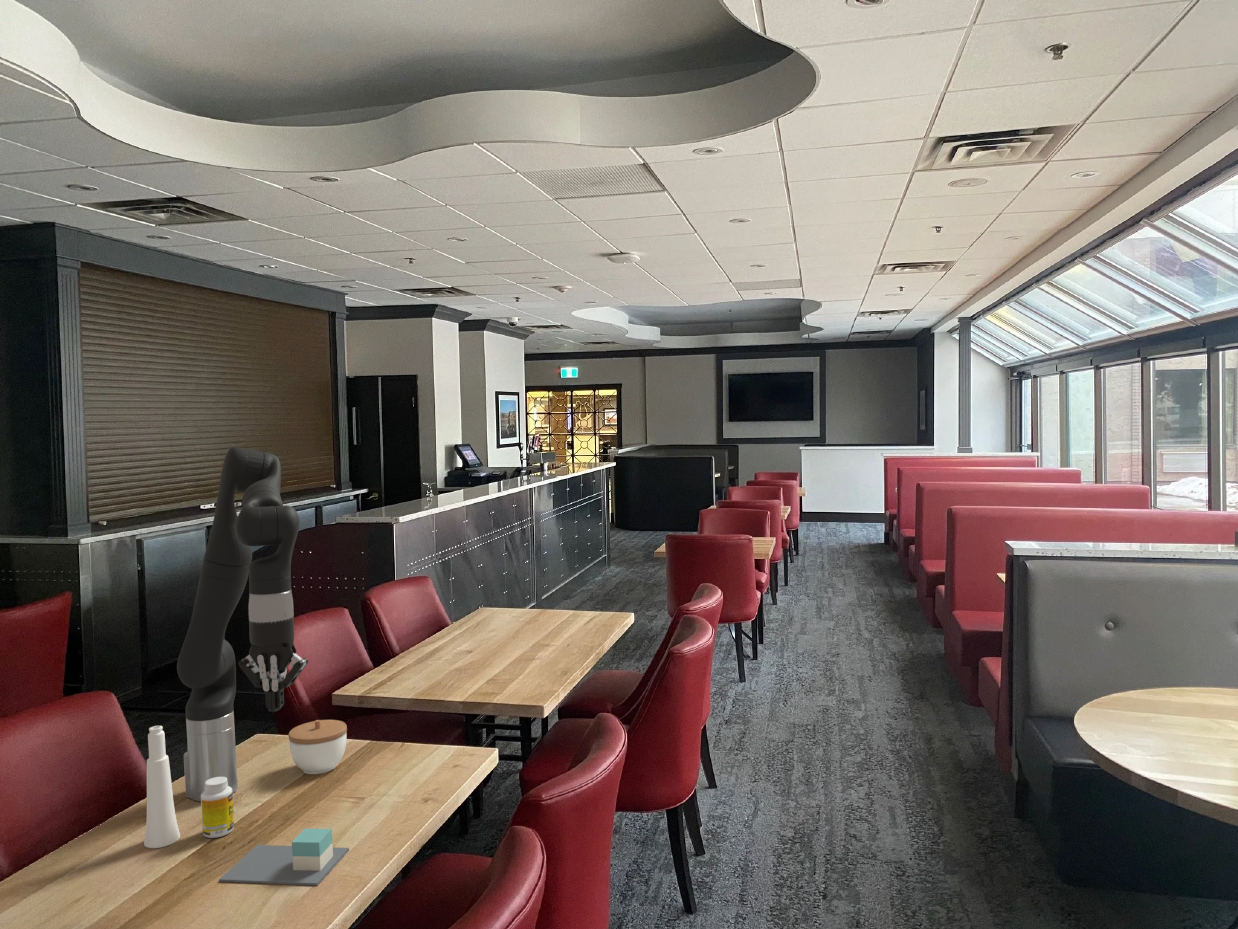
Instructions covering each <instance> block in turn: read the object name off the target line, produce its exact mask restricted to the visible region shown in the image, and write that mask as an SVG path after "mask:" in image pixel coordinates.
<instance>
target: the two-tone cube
mask: <svg viewBox="0 0 1238 929" xmlns="http://www.w3.org/2000/svg"><path fill="white" fill-rule="evenodd" d="M291 846H292V856H293V870H313V871H321V870H322V868H323V867H324V866H325V865H326V864H327V863H328V861H329V860H330V859H331V858H332V857H333V847H334V845H333V829H332V828H304V829H303V830H302V831H301V832H300V833H299V834H298V835H297V836H296V837H295V838H294V839H293V841H291Z"/></svg>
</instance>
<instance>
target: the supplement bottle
mask: <svg viewBox="0 0 1238 929" xmlns="http://www.w3.org/2000/svg"><path fill="white" fill-rule="evenodd" d="M200 806H201V807H200V808H201V810H200V811H201V824H202V825H201V826H202V834H203V836H204V837H205V838H210V839H217V838H220V837H224V836H227V835H228V834H230V833H231V832H232V831H233V830H234V829H235V816H234V796H233V792H232V788H231V787H229V786H228V782H227V778H226V777H215V778H211V779H209V780H207V781H206V782H205V791H204V792H203V793H202V794H201V801H200Z"/></svg>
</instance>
